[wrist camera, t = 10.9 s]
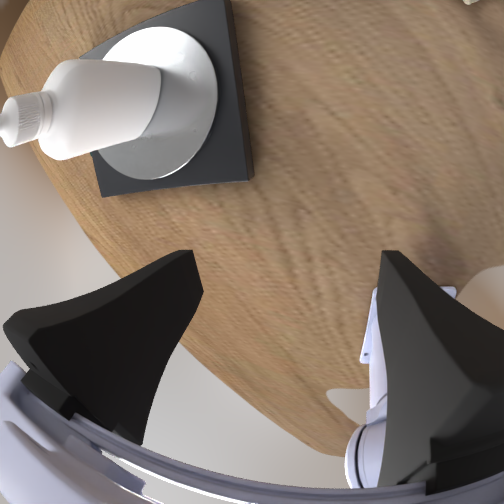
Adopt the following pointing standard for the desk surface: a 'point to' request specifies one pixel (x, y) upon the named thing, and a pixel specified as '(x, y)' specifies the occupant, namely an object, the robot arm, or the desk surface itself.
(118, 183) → the scale
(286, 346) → the desk surface
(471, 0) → the bracelet
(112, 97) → the eye dropper bottle
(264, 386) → the desk surface
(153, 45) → the scale pan
